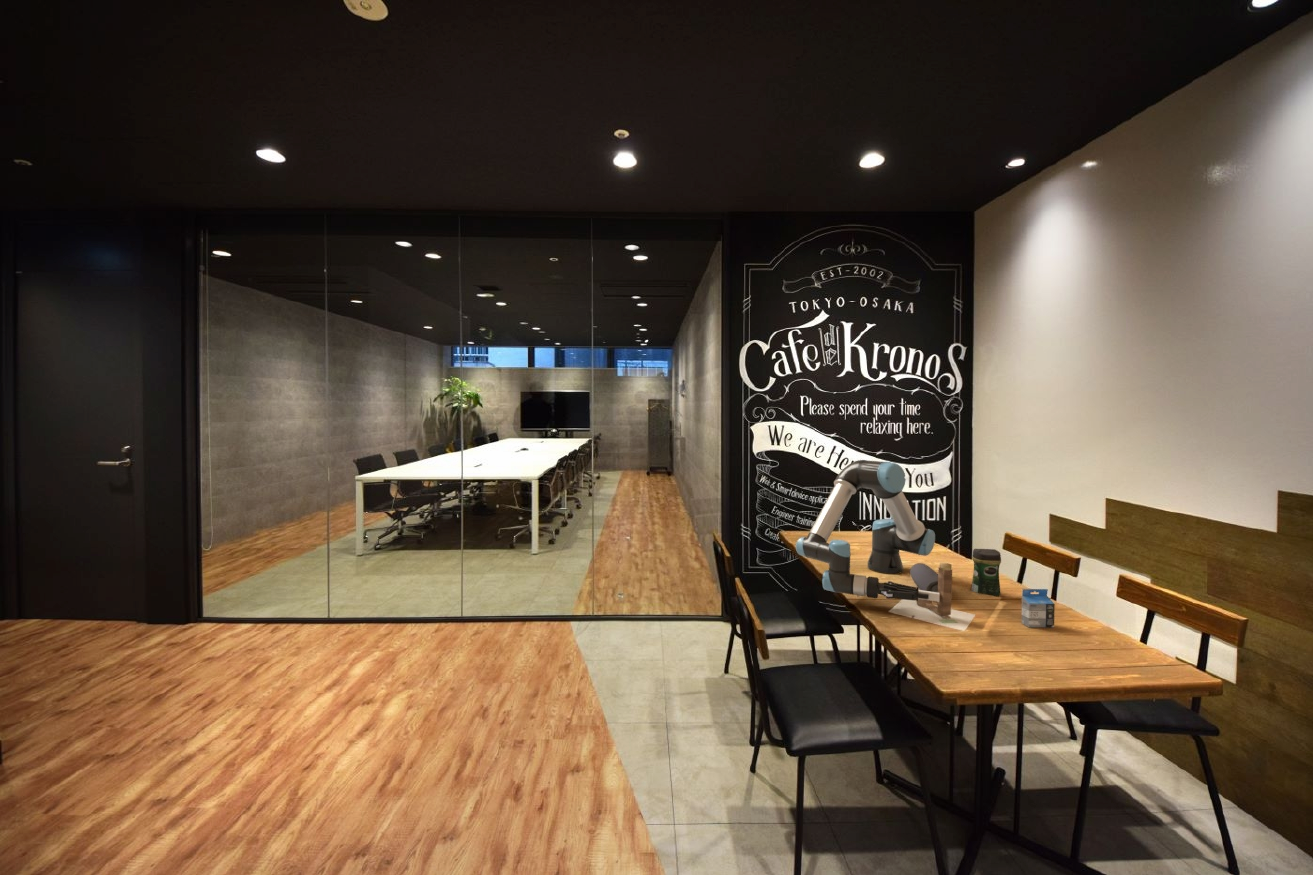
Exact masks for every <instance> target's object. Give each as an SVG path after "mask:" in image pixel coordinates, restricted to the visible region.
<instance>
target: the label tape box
mask: <svg viewBox="0 0 1313 875" xmlns="http://www.w3.org/2000/svg"><path fill="white" fill-rule="evenodd" d="M1048 591H1049V589H1048V588H1022V591H1021V592H1022V593H1021V594H1022V595H1021V621H1020V622H1021V624H1022V625H1023V626H1025V627H1027V628H1055V607H1056V604H1055V602H1053V600H1051V598H1050V597H1049V596H1048Z"/></svg>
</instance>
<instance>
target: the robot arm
mask: <svg viewBox="0 0 1313 875" xmlns="http://www.w3.org/2000/svg"><path fill="white" fill-rule="evenodd" d="M905 477H906V473H905V471H904V469H903V467H902V466H901V465H899V464H897V463H895V462H891V461H877V460H867V459H866V460H865V459H857V460H856V461H852V462H850V463H849V464H848V465H846V466H845V467H844V468H842V470H841V471H840V472H838V475H837V476H836V478H835V480H834V481H833V485H834V486H833V488H832V490H831V492H830V494H829V495H828V498H827V499H826V501H825V504H824V505H823V507H822V509H821V510H820V512H819V514H818V516H817V517H816V520H815V522H814V523H813V525H812V527H811V528H810V531H809V532H808V534H807V536H801V537H799V538H798V539H797V541H796V544H795V550H796V552H797V554H798V555H799V556H802V557H804V558H807V559H811V560H815V561H819V562H821V563H825V564H828V570H824V571H823V574H822V580H821V581H822V582H821V583H822V588H823V590H824V591H825V590H826V591H830V592H834V593H839V594H846V595H852V596H857V598H858V597H865V596H866V597H867V598H871V599H878V598H879V595H881V596H884V597H885V598H886V599H888V600H891V599H894V600H902V599H904V600H915V601H918V599H924V600H930V601H932V602H939V596H940V594H939V593H937V592H930V591H924V590H920V589H919V588H918V587H917V586H913V585H911V586H910V585H907V584H903V583H902V584H901V583H898V582H897V583H896V582H893V581H890V580H889V581H887V582H886V581H885V582H879V581H880V579H879V577H876V576H866V575H862V574H855V573H851V555H852V553H851V544H850V542H848V541H846V540H843V539H832V540H830V541H829V539H830V536H831V534H832V533H833V531H834V529H835V527H836V525H837V524H838V522H839V520H840V517H841V516H842V514H843V512H844V510H845V508H846V507H847V505H848V503H849V501H850V499H851V497H852V495H855V494H856V493H857V491H858V490H859V489H868V490H871V491H872V492H873V494H874V495H875V497H877V499H881V500H882V502H883V504H884V506H885V508H886V509H887V512H888V513H889V515H890V517H891V518H881V519H876V520H874V521H873V522H872V530H871V531H872V535H871V537H872V538H871V539H872V540H871V551H870V552H871V553H870V554H869V558H868V561H867V568H868V570H871V571H873V572H877V573H881V574H886V575H887V574H888V575H892V574H894V575H895V574H897V575H898V574H902V573H903V572H904V565H903V561H902V558H901V555H900V551H901V552H906V553H910V554H915V555H918V556H924V557H925V556H928V555H930V554H931V553H932V551H933V549H934V546H935V543H936V542H935V541H936V534H935V531H934V530H932V529H930V528H926V527H925V525H924V523H923V522H922V521H920V520H918V519H917V517H916V515H915V514H914V513H915V512H913V510H912V507H911V506H910V504H909V502H908V500H907V498H906V496H905V494H904V492H903V490H904V488H905V485H906V480H907V479H906V478H905ZM828 541H829V542H828Z"/></svg>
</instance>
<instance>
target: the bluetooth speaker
mask: <svg viewBox="0 0 1313 875" xmlns="http://www.w3.org/2000/svg"><path fill="white" fill-rule="evenodd" d="M909 574H910V578H911V580H912V581H913V583H914V584H915V585H916V588H917V587H918V590H924V591H930V592H937V593H938V573H937V572H936V571H935V570H934V569H932V568H931V567H930V566H929V565H927V564H926V563H923V562H920V563H919V562H918V563H914V564H913V565H912V566H911V567H910V570H909Z"/></svg>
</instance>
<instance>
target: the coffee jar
mask: <svg viewBox="0 0 1313 875" xmlns="http://www.w3.org/2000/svg"><path fill="white" fill-rule="evenodd" d="M971 559H972V561H973V574H972V580H971V588H970V590H971V592H972V593H973V592H974V593H977V594H981V595H987V596H988V595H989V596H992V597H993V596H994V597H997V598H1000V597H1001V584H1000V583H1001V582H1000V565H1001V563H1002V555H1001V552H1000V551H998V550H997V549H993V548H992V549H991V548H973V550H972V555H971Z"/></svg>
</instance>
